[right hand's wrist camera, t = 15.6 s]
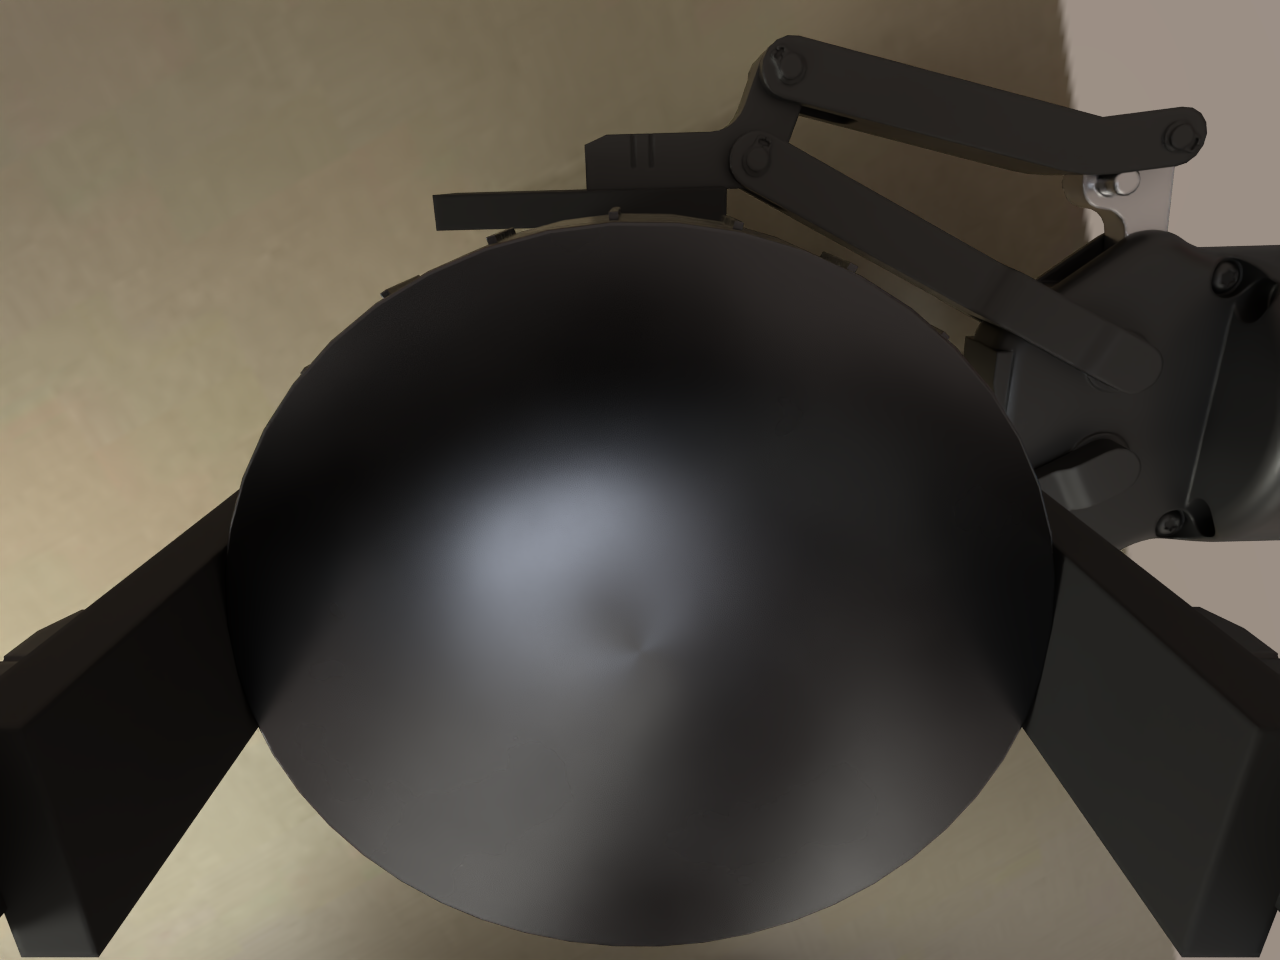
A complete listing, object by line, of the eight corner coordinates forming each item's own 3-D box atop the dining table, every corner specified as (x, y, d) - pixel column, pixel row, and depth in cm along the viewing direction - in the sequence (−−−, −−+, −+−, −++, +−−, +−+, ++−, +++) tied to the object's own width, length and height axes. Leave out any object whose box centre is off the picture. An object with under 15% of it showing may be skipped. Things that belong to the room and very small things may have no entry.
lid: (1073, 712, 13) (1147, 802, 11) (505, 920, 15) (485, 1030, 13) (845, 54, 10) (896, 23, 8) (137, 421, 11) (35, 470, 9)
